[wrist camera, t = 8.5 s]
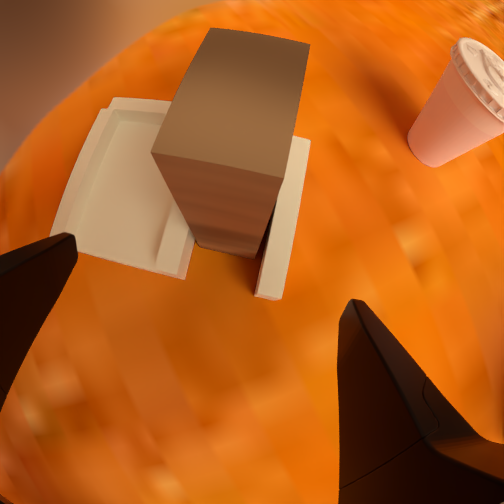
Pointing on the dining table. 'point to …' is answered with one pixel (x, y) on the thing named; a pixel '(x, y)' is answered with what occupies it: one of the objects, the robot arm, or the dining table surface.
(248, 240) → the brown long block
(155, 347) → the dining table surface
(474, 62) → the smoothie
